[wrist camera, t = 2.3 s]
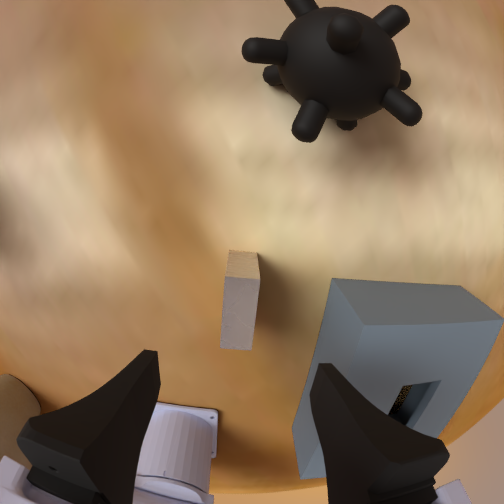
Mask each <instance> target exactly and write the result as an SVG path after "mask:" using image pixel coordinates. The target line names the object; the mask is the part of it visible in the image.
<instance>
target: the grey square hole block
mask: <svg viewBox="0 0 504 504" xmlns="http://www.w3.org/2000/svg"><path fill="white" fill-rule="evenodd" d="M503 322H504V318H502V317H501V316H500V315H499V314H497V313H496V312H495V311H493V310H492V309H491V308H490V307H488V306H487V305H486V304H484V303H483V302H482V301H480V300H479V299H478V298H476V297H475V296H474V295H472V294H471V293H469V292H468V291H467V290H465V289H464V288H463V287H461V286H455V285H435V284H416V283H399V282H383V281H367V280H352V279H338V278H332V281H331V285H330V290H329V294H328V299H327V303H326V308H325V312H324V316H323V320H322V325H321V329H320V333H319V337H318V340H317V344H316V348H315V352H314V356H313V359H312V363H311V367H310V370H309V374H308V377H307V381H306V384H305V388H304V391H303V394H302V398H301V401H300V404H299V407H298V410H297V414H296V417H295V420H294V423H293V426H292V432H293V438H294V444H295V450H296V456H297V462H298V469H299V475H300V479H312V478H322V477H326V470H325V463H324V456H323V452H322V448H321V444H320V441H319V437H318V434H317V430H316V427H315V423H314V420H313V416H312V411H311V404H310V396H309V394H310V391H311V387H312V384H313V381H314V378H315V374H316V371H317V368H318V364H319V363H332V364H333V365H334V366H335V367H336V368H337V370H338V371H339V372H340V373H341V374H342V375H343V376H344V377H345V378H346V379H347V380H348V381H349V382H350V383H351V384H352V385H353V386H354V387H355V388H356V389H357V390H358V391H359V392H360V393H361V394H362V395H363V396H364V397H365V398H366V399H367V400H369V401H370V402H371V403H372V404H373V405H374V406H376V407H377V408H378V409H380V410H381V411H382V412H384V413H385V414H387V415H388V413H389V411H390V409H391V408H392V406H393V404H394V402H395V400H396V398H397V396H398V395H399V393H400V391H401V389H402V387H403V386H406V385H412V387H411V389H410V391H409V393H408V395H407V396H406V398H405V400H404V402H403V404H402V405H401V407H400V409H399V411H398V412H397V413H396V414H389V415H388V416H390V417H391V418H393V419H394V420H396V421H398V422H400V423H401V424H403V425H405V426H407V427H409V428H411V429H413V430H415V431H418V432H420V433H422V434H425V435H428V436H431V437H434V438H437V437H438V436H439V434H440V433H441V432H442V430H443V429H444V428H445V426H446V425H447V423H448V422H449V421H450V419H451V418H452V416H453V415H454V413H455V412H456V410H457V409H458V407H459V406H460V404H461V403H462V401H463V399H464V398H465V396H466V395H467V393H468V391H469V390H470V388H471V386H472V384H473V383H474V381H475V379H476V377H477V376H478V374H479V372H480V370H481V368H482V366H483V365H484V363H485V361H486V359H487V357H488V355H489V353H490V351H491V349H492V346H493V344H494V342H495V340H496V338H497V336H498V333H499V331H500V329H501V327H502V324H503Z"/></svg>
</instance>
